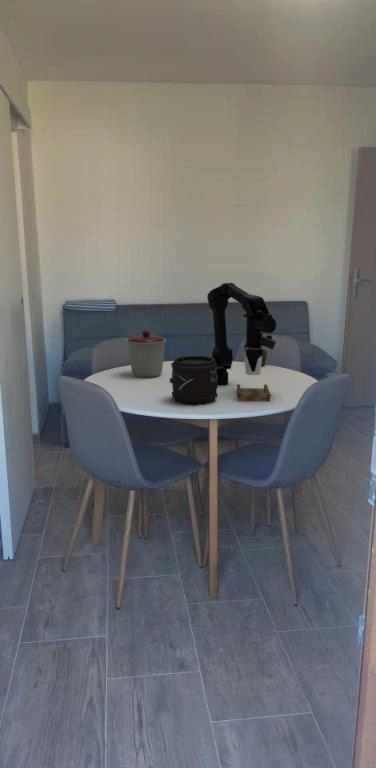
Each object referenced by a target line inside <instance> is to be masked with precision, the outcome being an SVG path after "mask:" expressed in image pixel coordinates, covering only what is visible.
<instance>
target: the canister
mask: <svg viewBox="0 0 376 768" xmlns="http://www.w3.org/2000/svg"><path fill="white" fill-rule="evenodd" d="M141 333H142V335H141V334H140V335H139V334H138V335H134V336H133V335H132V336H130V337H128V338H127V339H126V340H125V343H127V348H128V349H127V350H128V355H129V362H130V368H131V372H132V375H134V376H135V377H137V376H138V378H143V377H149V378H155V377H158V376H160V375H161V374H162V373H163V367H164V366H163V365H164V357H165V345H166V341H167V339H166V338H165V337H163V336H161V335H158V334H157V335H156V334H155V335H154V334H151V331H150V330H149V329H143V330H142V331H141Z"/></svg>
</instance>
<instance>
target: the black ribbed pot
mask: <svg viewBox="0 0 376 768" xmlns="http://www.w3.org/2000/svg"><path fill="white" fill-rule="evenodd" d="M170 365H171V368H172V371H171V378H169V384H171V385H172V386H171V387H172V392H171V395H172V399H174V401H175V403H177V402H179V403H178V404H181V403H182V404H181V405H186V404H188V405H189V406H198V404H201V405H207V404H206V403H209V404H211V403H214V402H215V401H216V399H217V397H218V392H217V390H218V385H217V369H216V368H217V367H218V366H217V363H216V362H215V360H214V358H212V356H205V355H185V356H179V357H175V358H174V359H173V362H171V364H170ZM210 402H211V403H210Z"/></svg>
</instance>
